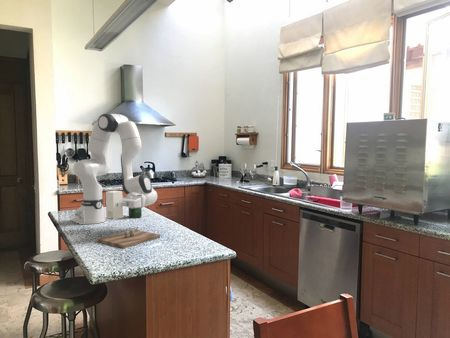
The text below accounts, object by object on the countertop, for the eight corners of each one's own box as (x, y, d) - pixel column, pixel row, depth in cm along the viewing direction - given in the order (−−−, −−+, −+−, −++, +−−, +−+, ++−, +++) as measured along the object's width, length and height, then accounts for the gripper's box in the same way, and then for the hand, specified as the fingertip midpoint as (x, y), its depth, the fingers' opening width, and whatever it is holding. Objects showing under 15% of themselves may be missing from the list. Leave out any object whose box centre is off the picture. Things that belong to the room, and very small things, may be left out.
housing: (106, 218, 194) (105, 191, 193) (115, 216, 199) (114, 190, 198) (113, 219, 190) (113, 192, 189) (123, 217, 195) (122, 191, 194)
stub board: (97, 241, 184) (97, 232, 184) (133, 231, 204) (133, 223, 204) (124, 248, 173) (123, 239, 173) (160, 237, 193) (160, 229, 193)
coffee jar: (143, 217, 242) (142, 189, 240) (131, 218, 238) (130, 190, 236) (139, 214, 250) (138, 187, 249) (127, 216, 246) (126, 188, 245)
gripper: (120, 193, 210) (100, 196, 199) (145, 196, 199) (125, 199, 187) (120, 204, 211) (100, 207, 199) (146, 207, 199) (126, 211, 188)
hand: (113, 204), depth 193 cm, fingers closed on housing, 6 cm apart
